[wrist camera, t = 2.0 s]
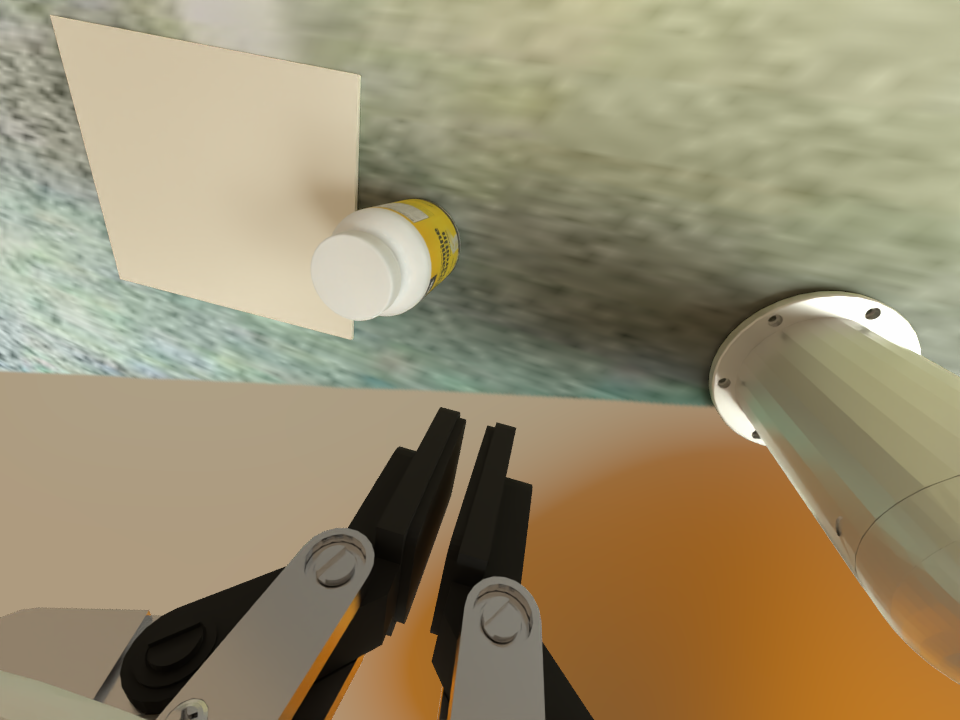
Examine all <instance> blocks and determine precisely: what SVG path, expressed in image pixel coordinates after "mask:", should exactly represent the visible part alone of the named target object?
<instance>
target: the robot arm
mask: <svg viewBox="0 0 960 720" xmlns="http://www.w3.org/2000/svg"><path fill="white" fill-rule="evenodd" d="M772 316H773V318H771V319H769V318H770V317H772ZM720 379H722V380H720ZM709 391H710V395H711V400H712V402H713V404H714V406H715V408H716V410H717V412H718V413H719V415H720V416H721V418H722V419H723V421H724V422H725V423H726V424H727V425H728V426H729V427H730V428H731V429H732V430H733V431H734V432H736V433H737V434H739V435H741V436H742V437H744V438H746V439H747V440H750V441H753V442H755V443H758V444H761V445H765V446H767V447H768V449H769V450H770V452H771V453H772V455H773V456H774V458H775V459H776V461H777V462H778V464H779V465H780V467H781V468H782V470H783V471H784V472H785V474H786V475H787V477H788V478H789V480H790V481H791V483H792V484H793V486H794V487H795V489H796V490H797V492H798V493H799V495H800V496H801V497H802V499H803V500H804V502H805V503H806V505H807V506H808V508H809V509H810V511H811V512H812V514H813V515H814V517H815V518H816V520H817V521H818V523H819V524H820V525H821V527H822V528H823V530H824V531H825V533H826V534H827V536H828V537H829V539H830V540H831V542H832V543H833V545H834V546H835V548H836V549H837V550H838V552H839V553H840V555H841V556H842V558H843V559H844V561H845V562H846V564H847V565H848V567H849V568H850V570H851V571H852V573H853V574H854V575H855V577H856V578H857V580H858V581H859V583H860V584H861V586H862V587H863V588H864V589H865V591H866V592H867V594H868V595H869V596H870V598H871V599H872V601H873V602H874V604H875V605H876V607H877V608H878V610H879V611H880V612H881V614H882V615H883V617H884V618H885V619H886V620H887V622H888V623H889V624H890V626H891V627H892V628H893V629H894V630H895V632H896V633H897V634H898V635H899V636H900V637H901V638H902V639H903V640H904V641H905V642H906V643H907V644H908V645H909V646H910V647H911V648H912V649H913V650H914V651H915V652H916V653H917V654H919V655H920V656H921V657H922V658H923V659H924V660H925V661H927V662H928V663H929V664H930V665H932V666H933V667H934V668H936V669H937V670H939V671H940V672H942V673H943V674H945V675H946V676H947V677H949V678H950V679H952V680H953V681H955V682H957V683H958V684H960V377H959V376H957V375H955V374H953V373H952V372H950V371H948V370H946V369H945V368H943V367H941V366H939V365H937V364H936V363H934V362H932V361H930V360H928V359H927V358H925V357H923V356H921V346H920V343H919V340H918V337H917V333H916V332H915V330H914V329H913V327H912V326H911V324H910V323H909V321H908V320H907V319H906V318H905V317H903V316H902V315H901V314H900V313H899V312H897V311H896V310H895V309H893V308H891V307H889V306H888V305H886V304H884V303H882V302H880V301H878V300H875V299H872V298H869V297H867V296H864V295H861V294H855V293H849V292H843V291H819V292H813V293H807V294H801V295H797V296H794V297H790V298H787V299H784V300H781V301H778V302H776V303H774V304H772V305H770V306H768V307H765V308H763V309H761V310H759V311H758V312H756V313H755V314H753V315H752V316H751V317H749V318H748V319H746V320H745V321H743V322H742V323H741V324H740V325H739V326H738V327H737V328H736V329H735V330H733V331H732V332H731V333H730V334H729V336H728V337H727V338H726V340H725V341H724V342H723V344H722V345H721V346H720V348H719V350H718V352H717V354H716V356H715V357H714V359H713V362H712V366H711V370H710V373H709ZM465 425H466V420H465V419H462V418H460V412H457V411H453V410H449V409H446V408H442V407H441V408H440V409H439V410H438V412H437V414H436V416H435V418H434V420H433V422H432V423H431V425H430V427H429V429H428V431H427V433H426V435H425V437H424V438H423V440H422V442H421V444H420V446H419V448H418V450H417V451H413V450H409V449H406V448H403V447H398V448H397V449H396V450H395V452H394V453H393V455H392V456H391V458H390V460H389V461H388V463H387V465H386V467H385V468H384V470H383V471H382V473H381V474H380V476H379V478H378V479H377V481H376V483H375V484H374V486H373V488H372V490H371V491H370V493H369V494H368V496H367V497H366V499H365V501H364V502H363V504H362V506H361V507H360V509H359V511H358V512H357V514H356V516H355V517H354V519H353V521H352V522H351V524H350V525H349V527H348V528H335V529H331V530H327V531H324V532H322V533H320V534H318V535H316V536H314V537H313V538H312V539H311V540H310V541H308V542H307V543H306V544H305V545H304V546H303V547H302V549H301V550H300V551H299V552H298V553H297V554H296V556H295V557H294V558H293V559H292V560H291V562H290V563H289V564H288V565H287V566H286V567H283V568H281V569H278V570H275V571H273V572H270V573H268V574H265V575H263V576H260V577H257V578H255V579H252V580H250V581H247V582H244V583H242V584H239V585H236V586H234V587H231V588H229V589H226V590H223V591H221V592H218V593H216V594H213V595H210V596H208V597H205V598H202V599H200V600H197V601H195V602H192V603H189V604H187V605H184V606H182V607H179V608H177V609H175V610H173V611H171V612H169V613H167V614H165V615H163V616H157V615H151V614H150V611H149V610H120V609H77V608H32V609H24V610H19V611H17V612H14V613H11V614H8V615H6V616H3V617H0V720H332V718H333V716H334V714H335V712H336V710H337V709H338V707H339V705H340V702H341V701H342V699H343V697H344V695H345V693H346V691H347V690H348V688H349V686H350V684H351V682H352V680H353V678H354V677H355V674H356V673H357V671H358V669H359V667H360V665H361V663H362V662H363V659H364V656H365V654H366V653H367V652H369V651H371V650H373V649H375V648H377V647H378V646H380V645H382V643H383V641H384V638H385V635H388V636H391V635H392V632H393V630H394V627H395V624H396V622H401V623H403V624H404V623H405V622H406V619H407V616H408V614H409V611H410V608H411V606H412V603H413V600H414V598H415V595H416V592H417V589H418V586H419V584H420V581H421V578H422V575H423V573H424V570H425V567H426V564H427V561H428V558H429V556H430V553H431V550H432V547H433V545H434V542H435V539H436V537H437V534H438V531H439V528H440V525H441V523H442V520H443V517H444V514H445V511H446V508H447V506H448V503H449V500H450V497H451V493H452V489H453V484H454V479H455V474H456V469H457V464H458V459H459V455H460V450H461V444H462V440H463V434H464V429H465ZM515 430H516V428H515V427H511V426H508V425H504V424H500V423H496V426H495V427H491V426H487V428H486V432H485V435H484V438H483V441H482V444H481V447H480V450H479V453H478V456H477V460H476V463H475V466H474V469H473V472H472V475H471V478H470V482H469V485H468V488H467V491H466V494H465V497H464V500H463V503H462V507H461V510H460V513H459V516H458V519H457V522H456V526H455V529H454V532H453V535H452V538H451V541H450V545H449V549H448V553H447V557H446V561H445V566H444V570H443V575H442V579H441V584H440V589H439V593H438V598H437V602H436V607H435V612H434V617H433V621H432V626H431V630H430V633H433V634H436V635H438V637H437V641H436V645H435V650H434V654H433V658H432V663H433V665H434V668H435V670H436V672H437V675H438V677H439V679H440V681H441V683H442V690H441V697H440V705H439V711H438V717H437V720H594V719H593V718H592V716H591V715H590V713H589V712H588V710H587V709H586V707H585V706H584V704H583V703H582V701H581V700H580V698H579V697H578V695H577V694H576V692H575V691H574V689H573V688H572V686H571V685H570V683H569V681H568V680H567V678H566V677H565V675H564V674H563V672H562V671H561V669H560V668H559V666H558V665H557V663H556V662H555V660H554V659H553V657H552V656H551V654H550V653H549V651H548V650H547V648H546V647H545V645H544V644H543V642H542V627H541V618H540V613H539V608H538V606H537V604H536V602H535V600H534V598H533V596H532V595H531V594H530V593H529V592H528V591H527V590H526V588H525V587H523V586H522V585H521V579H522V571H523V561H524V553H525V546H526V537H527V529H528V521H529V513H530V504H531V496H532V485H531V484H528V483H524V482H521V481H517V480H514V479H511V478H507V477H506V474H507V469H508V464H509V459H510V455H511V450H512V445H513V440H514V435H515Z"/></svg>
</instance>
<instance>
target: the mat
mask: <svg viewBox="0 0 960 720" xmlns="http://www.w3.org/2000/svg"><path fill="white" fill-rule="evenodd" d="M50 17H51V21H52V24H53V28H54V32H55V36H56V40H57V43H58V47H59V51H60V55H61V58H62V62H63V66H64V70H65V73H66V77H67V81H68V85H69V88H70V92H71V96H72V100H73V103H74V107H75V111H76V115H77V119H78V122H79V126H80V130H81V134H82V137H83V141H84V145H85V149H86V152H87V156H88V160H89V164H90V167H91V171H92V175H93V179H94V182H95V186H96V190H97V194H98V197H99V201H100V205H101V209H102V213H103V216H104V220H105V224H106V228H107V231H108V235H109V239H110V243H111V246H112V250H113V254H114V258H115V261H116V265H117V269H118V273H119V276H120V279H122V280H126V281H130V282H134V283H138V284H141V285H145V286H149V287H153V288H157V289H160V290H164V291H168V292H172V293H176V294H179V295H183V296H187V297H191V298H194V299H198V300H202V301H206V302H210V303H213V304H217V305H221V306H225V307H229V308H232V309H236V310H240V311H244V312H248V313H251V314H255V315H259V316H263V317H267V318H270V319H274V320H278V321H282V322H285V323H289V324H293V325H297V326H301V327H304V328H308V329H312V330H316V331H320V332H323V333H327V334H331V335H335V336H339V337H342V338H346V339H350V340H352V339H353V338H354V320H350V319H347V318H344V317H342V316H340V315H338V314H336V313H335V312H334V311H332V310H331V309H330V308H329V307H328V306H327V305H326V304H325V303H324V302H323V301H322V300H321V298H320V297H319V295H318V294H317V292H316V290H315V288H314V285H313V282H312V278H311V260H312V256H313V254H314V251H315V250H316V248H317V247H318V245H319V244H320V243H321V242H322V241H323V240H325V239H326V238H328V237H330V236H332V233H333V231H334V230H335V228H336V227H337V225H338V224H339V223H340V222H341V221H342V220H343V219H344V218H345V217H346V216H348V215H349V214H351V213H353V212H355V211H357V199H358V163H359V127H360V91H361V75H358V74H353V73H348V72H343V71H338V70H332V69H327V68H322V67H317V66H312V65H307V64H301V63H296V62H291V61H286V60H281V59H275V58H270V57H265V56H260V55H255V54H250V53H244V52H239V51H234V50H229V49H224V48H219V47H213V46H208V45H203V44H198V43H193V42H188V41H182V40H177V39H172V38H167V37H162V36H157V35H151V34H146V33H141V32H136V31H131V30H125V29H120V28H115V27H110V26H105V25H100V24H94V23H89V22H84V21H79V20H74V19H69V18H63V17H58V16H53V15H50Z"/></svg>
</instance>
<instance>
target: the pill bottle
mask: <svg viewBox="0 0 960 720" xmlns="http://www.w3.org/2000/svg"><path fill="white" fill-rule="evenodd" d="M459 254H460V236H459V232H458V229H457V227H456V225H455V223H454V221H453V219H452V218H451V216H450V215H449V214H448V213H447V212H446V211H445V210H444V209H443V208H442V207H440V206H439V205H437V204H435V203H433V202H431V201H428V200H425V199H407V200H402V201H398V202H393V203H388V204H383V205H378V206H374V207H369V208H365V209H361V210H358V211H355V212H353V213H351V214H349V215H348V216H346V217H345V218H344V219H343V220H342V221H341V222H340V223H339V224H338V225H337V227H336V228H335V230H334V231H333V233H332V236H330V237H328V238H326V239H325V240H323V241H322V242H321V243H320V244H319V245H318V247H317V248H316V250H315V251H314V254H313V256H312V260H311V278H312V282H313V285H314V288H315V290H316V292H317V294H318V295H319V297H320V298H321V300H322V301H323V302H324V303H325V304H326V305H327V306H328V307H329V308H330V309H331V310H332V311H334V312H335V313H336V314H338V315H340V316H342V317H344V318H347V319H350V320H356V321H363V320H369V319H372V318H375V317H377V316H393V315H398V314H401V313H404V312H406V311H408V310H409V309H411V308H412V307H414V306H415V305H416V304H417V303H418V302H420V301H421V300H422V299H423V298H424V297H425V296H426V295H427V294H428V293H429V292H431V291H432V290H433V289H434V288H435V287H436V286H437V285H438V284H439V283H440V282H441V281H443V280H444V279H445V278H446V277H447V276H448V275H449V274H450V273H451V272H452V270H453V269H454V267H455V265H456V263H457V261H458V258H459Z"/></svg>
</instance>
